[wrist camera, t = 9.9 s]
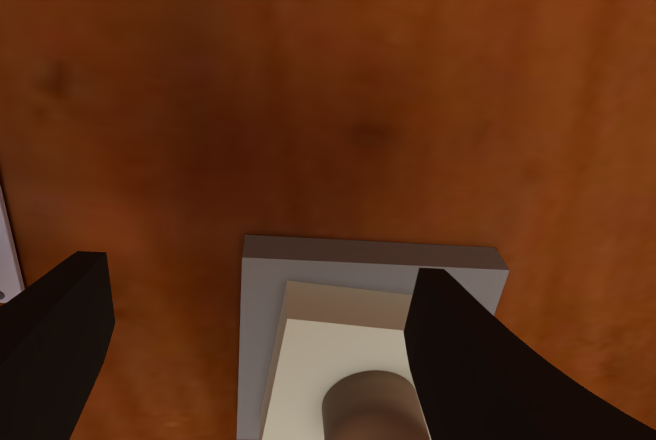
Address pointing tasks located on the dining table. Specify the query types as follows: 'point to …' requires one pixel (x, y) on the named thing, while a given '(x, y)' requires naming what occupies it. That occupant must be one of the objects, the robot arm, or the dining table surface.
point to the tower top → (328, 352)
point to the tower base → (344, 271)
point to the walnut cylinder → (373, 409)
